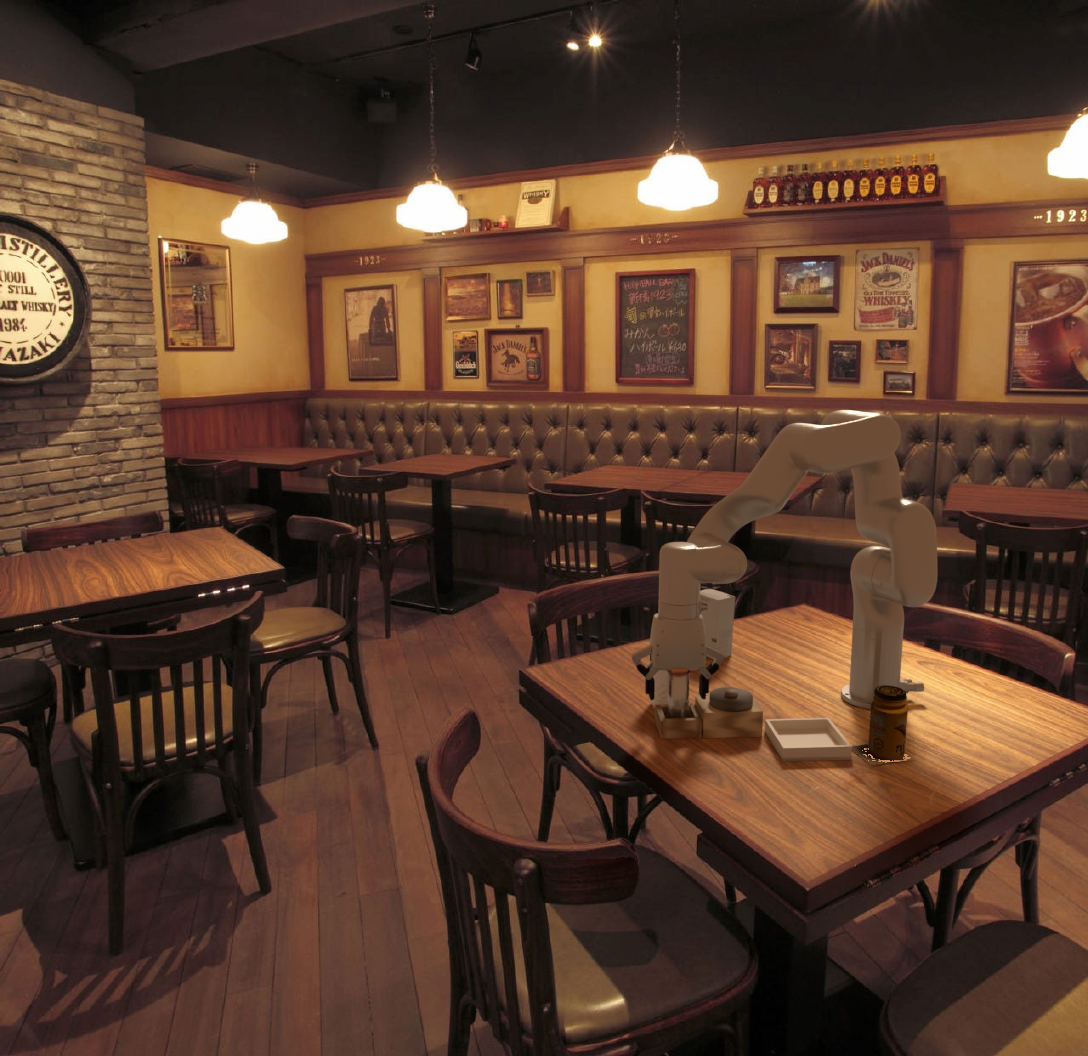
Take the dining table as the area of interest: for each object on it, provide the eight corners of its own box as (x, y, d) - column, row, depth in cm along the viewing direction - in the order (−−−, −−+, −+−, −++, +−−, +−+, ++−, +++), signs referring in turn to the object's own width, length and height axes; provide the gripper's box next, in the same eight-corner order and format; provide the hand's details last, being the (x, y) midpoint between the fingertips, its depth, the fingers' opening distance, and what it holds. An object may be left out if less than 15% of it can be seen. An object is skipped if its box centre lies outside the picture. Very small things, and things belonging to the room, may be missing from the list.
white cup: (686, 713, 172) (687, 665, 170) (646, 710, 173) (647, 663, 171) (688, 698, 179) (689, 652, 177) (650, 695, 181) (650, 650, 179)
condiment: (915, 760, 151) (920, 695, 148) (871, 766, 149) (875, 700, 147) (889, 742, 158) (894, 680, 155) (848, 748, 156) (851, 685, 154)
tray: (828, 730, 163) (828, 717, 163) (851, 759, 151) (852, 746, 151) (764, 731, 163) (765, 719, 162) (782, 761, 151) (783, 748, 151)
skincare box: (690, 651, 207) (691, 591, 204) (707, 646, 210) (708, 587, 207) (716, 661, 200) (718, 599, 197) (734, 655, 204) (736, 594, 201)
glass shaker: (688, 723, 167) (689, 659, 164) (692, 734, 162) (693, 669, 160) (663, 724, 167) (663, 660, 164) (667, 735, 162) (667, 669, 160)
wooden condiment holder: (751, 718, 169) (752, 682, 167) (762, 736, 161) (763, 699, 160) (654, 721, 169) (655, 685, 167) (661, 739, 161) (661, 701, 159)
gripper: (721, 603, 164) (718, 689, 167) (629, 604, 163) (628, 690, 167) (730, 615, 156) (727, 704, 160) (634, 616, 156) (633, 705, 160)
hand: (676, 697), depth 163 cm, fingers open, 9 cm apart
